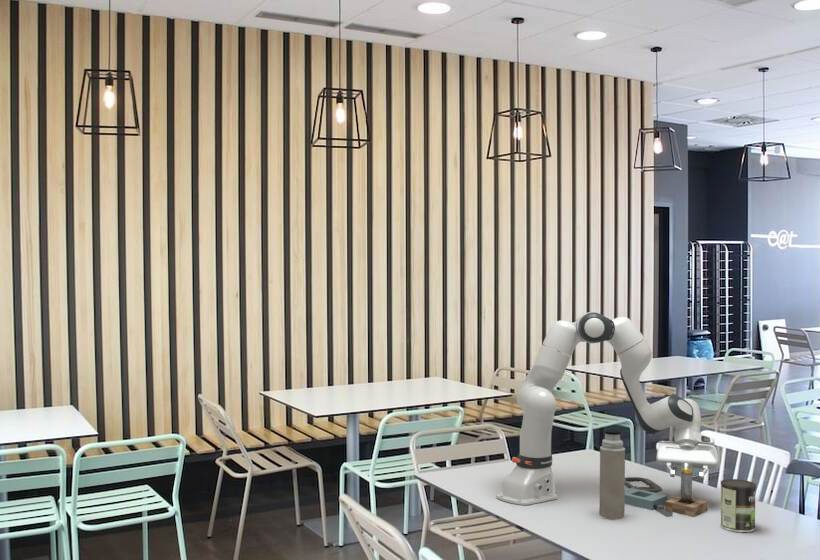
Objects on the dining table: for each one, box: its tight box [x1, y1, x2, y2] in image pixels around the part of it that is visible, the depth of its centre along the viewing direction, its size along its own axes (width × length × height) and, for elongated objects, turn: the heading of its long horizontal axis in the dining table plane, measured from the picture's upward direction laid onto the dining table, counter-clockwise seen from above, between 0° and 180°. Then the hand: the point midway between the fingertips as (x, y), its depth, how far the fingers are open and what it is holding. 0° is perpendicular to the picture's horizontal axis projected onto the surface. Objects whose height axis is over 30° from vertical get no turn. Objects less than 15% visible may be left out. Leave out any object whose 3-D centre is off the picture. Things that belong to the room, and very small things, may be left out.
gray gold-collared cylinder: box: [680, 462, 694, 504], centre depth 284 cm, size 4×4×16 cm
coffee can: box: [720, 478, 757, 533], centre depth 266 cm, size 10×10×14 cm
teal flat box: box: [625, 487, 669, 511], centre depth 293 cm, size 10×14×3 cm
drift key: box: [653, 504, 673, 518], centre depth 282 cm, size 8×2×2 cm, turn 14°
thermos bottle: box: [599, 429, 626, 520], centre depth 278 cm, size 8×8×28 cm
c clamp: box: [625, 476, 663, 493], centre depth 314 cm, size 20×17×3 cm
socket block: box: [664, 495, 709, 518], centre depth 284 cm, size 10×10×3 cm
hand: (686, 477), depth 285 cm, fingers open, 8 cm apart
